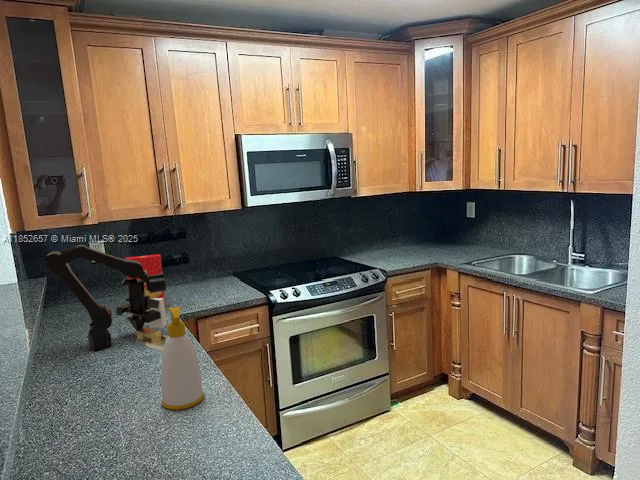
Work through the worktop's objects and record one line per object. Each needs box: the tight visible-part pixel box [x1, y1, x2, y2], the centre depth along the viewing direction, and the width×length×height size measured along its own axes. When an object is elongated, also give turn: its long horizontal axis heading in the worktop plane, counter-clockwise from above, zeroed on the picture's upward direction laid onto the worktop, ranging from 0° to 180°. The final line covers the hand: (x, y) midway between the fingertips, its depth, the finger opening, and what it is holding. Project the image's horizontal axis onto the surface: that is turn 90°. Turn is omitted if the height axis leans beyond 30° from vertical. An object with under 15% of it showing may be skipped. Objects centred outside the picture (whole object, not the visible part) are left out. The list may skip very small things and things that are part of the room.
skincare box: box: [147, 298, 168, 329], centre depth 178 cm, size 6×4×12 cm
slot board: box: [135, 334, 168, 352], centre depth 160 cm, size 16×8×2 cm, turn 58°
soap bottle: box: [160, 306, 205, 411], centre depth 118 cm, size 11×12×26 cm
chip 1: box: [135, 327, 153, 341], centre depth 164 cm, size 4×4×4 cm
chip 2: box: [144, 328, 161, 344], centre depth 161 cm, size 4×4×4 cm
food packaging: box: [125, 253, 166, 311], centre depth 203 cm, size 15×5×25 cm, turn 109°
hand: (140, 334), depth 165 cm, fingers closed
